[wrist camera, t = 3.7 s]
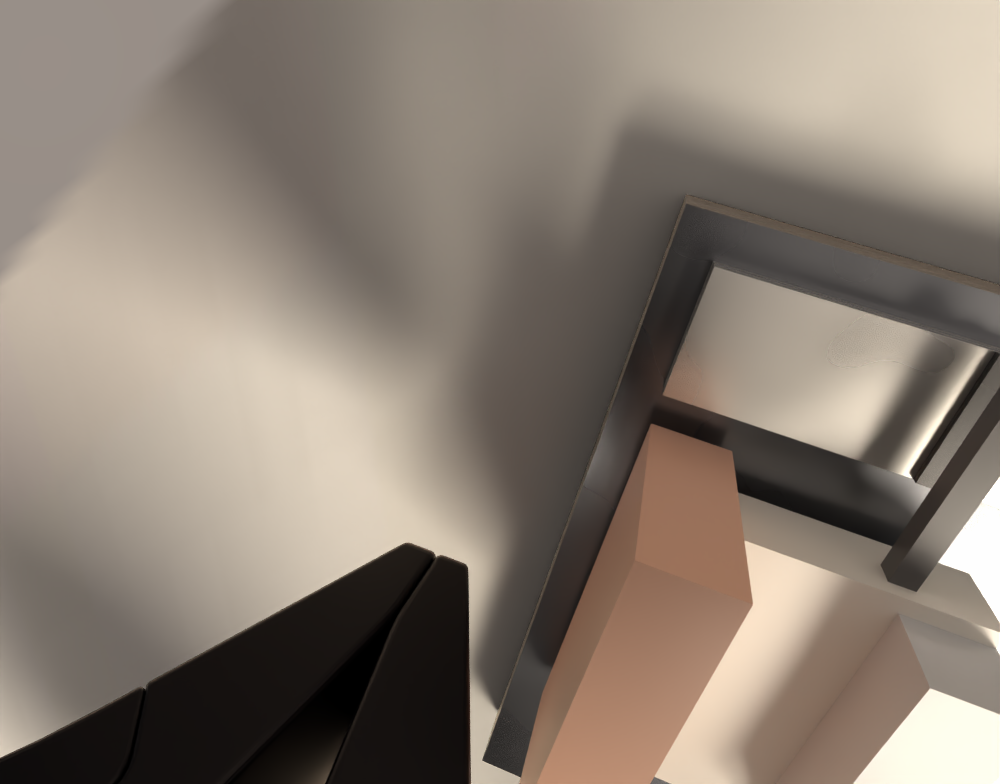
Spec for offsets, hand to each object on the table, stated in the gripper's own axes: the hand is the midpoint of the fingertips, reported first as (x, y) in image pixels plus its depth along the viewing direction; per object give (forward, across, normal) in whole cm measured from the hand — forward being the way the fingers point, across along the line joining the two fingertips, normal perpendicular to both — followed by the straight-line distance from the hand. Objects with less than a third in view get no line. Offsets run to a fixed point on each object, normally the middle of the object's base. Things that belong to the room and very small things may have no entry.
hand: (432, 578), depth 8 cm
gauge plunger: (+1, -4, -1) cm, 4 cm away
